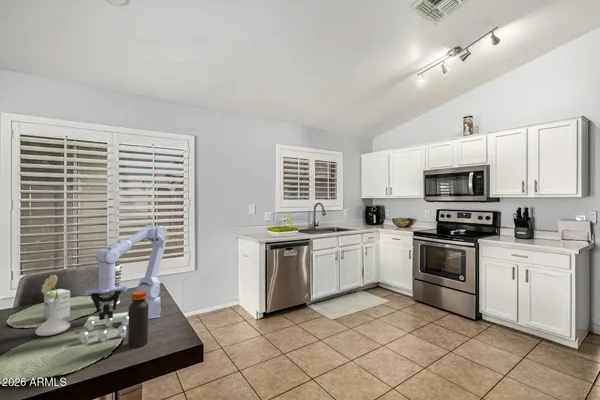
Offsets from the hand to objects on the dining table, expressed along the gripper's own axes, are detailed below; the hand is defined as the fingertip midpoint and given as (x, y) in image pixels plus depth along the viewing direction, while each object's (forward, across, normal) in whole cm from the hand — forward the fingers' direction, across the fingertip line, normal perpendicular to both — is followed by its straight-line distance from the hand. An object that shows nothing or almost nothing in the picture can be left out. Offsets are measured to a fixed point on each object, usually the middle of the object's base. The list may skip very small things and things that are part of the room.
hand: (106, 310), depth 124 cm
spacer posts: (+10, 0, 0) cm, 10 cm away
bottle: (+10, +13, -16) cm, 23 cm away
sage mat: (+10, -2, +17) cm, 20 cm away
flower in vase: (+10, -20, +9) cm, 24 cm away
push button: (+4, -1, 0) cm, 4 cm away
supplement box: (+10, -24, +29) cm, 39 cm away
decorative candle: (+10, -4, +43) cm, 44 cm away
